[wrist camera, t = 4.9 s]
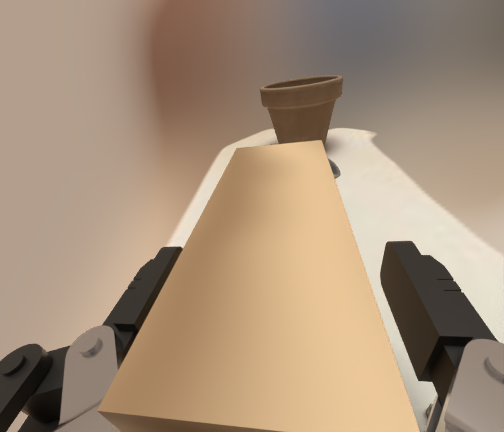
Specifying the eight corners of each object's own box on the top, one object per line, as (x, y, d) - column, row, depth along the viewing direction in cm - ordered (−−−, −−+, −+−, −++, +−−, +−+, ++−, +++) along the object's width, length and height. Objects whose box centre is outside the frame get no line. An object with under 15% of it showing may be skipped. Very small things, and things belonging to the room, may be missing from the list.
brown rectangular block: (319, 275, 18) (321, 140, 13) (354, 544, 8) (425, 447, 3) (259, 276, 19) (236, 148, 14) (225, 521, 9) (97, 411, 4)
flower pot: (286, 137, 47) (282, 77, 42) (348, 140, 41) (353, 70, 36) (253, 160, 40) (243, 90, 34) (324, 167, 34) (325, 84, 28)
